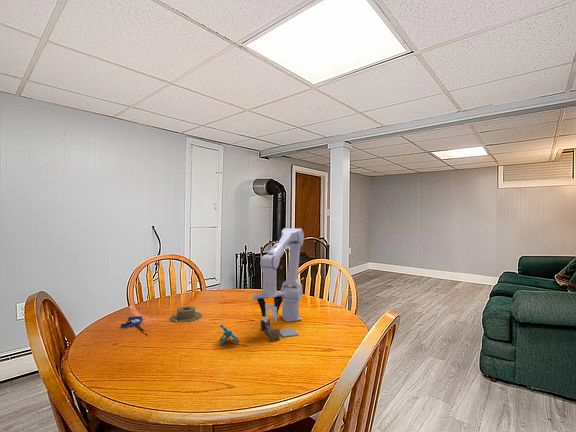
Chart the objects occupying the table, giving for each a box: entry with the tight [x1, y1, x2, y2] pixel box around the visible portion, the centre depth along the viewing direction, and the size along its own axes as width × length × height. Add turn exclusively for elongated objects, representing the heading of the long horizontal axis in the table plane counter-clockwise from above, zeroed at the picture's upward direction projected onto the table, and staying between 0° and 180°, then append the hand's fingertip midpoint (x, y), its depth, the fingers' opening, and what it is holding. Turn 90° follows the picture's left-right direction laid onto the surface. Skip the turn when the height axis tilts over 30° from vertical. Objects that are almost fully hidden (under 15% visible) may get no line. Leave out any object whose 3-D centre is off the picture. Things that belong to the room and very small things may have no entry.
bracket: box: [262, 303, 278, 323], centre depth 128 cm, size 4×5×6 cm
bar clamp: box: [120, 315, 145, 332], centre depth 132 cm, size 32×2×10 cm
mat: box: [279, 327, 299, 339], centre depth 129 cm, size 7×7×1 cm
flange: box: [169, 305, 203, 323], centre depth 149 cm, size 5×15×15 cm
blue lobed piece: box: [219, 324, 241, 345], centre depth 119 cm, size 11×6×10 cm
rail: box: [259, 318, 281, 342], centre depth 128 cm, size 14×4×4 cm, turn 21°
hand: (269, 315), depth 128 cm, fingers closed on bracket, 5 cm apart
